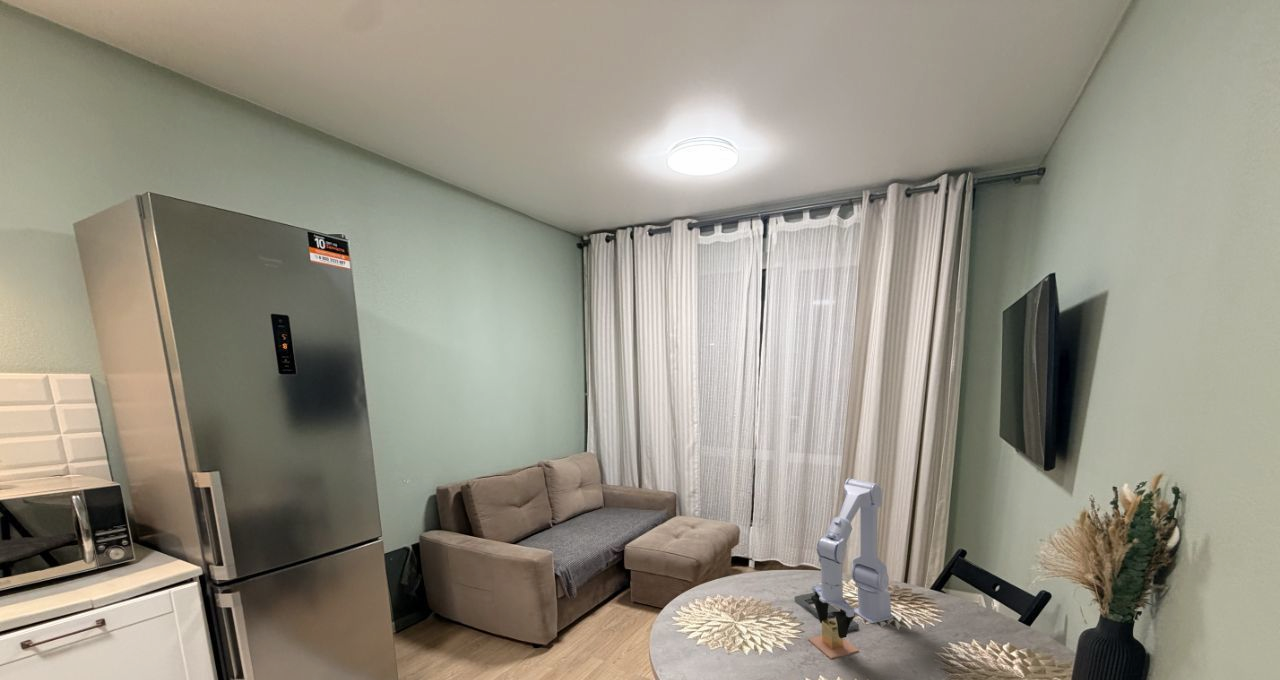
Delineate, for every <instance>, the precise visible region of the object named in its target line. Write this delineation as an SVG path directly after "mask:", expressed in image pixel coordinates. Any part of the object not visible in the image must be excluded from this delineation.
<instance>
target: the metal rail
mask: <svg viewBox="0 0 1280 680" xmlns="http://www.w3.org/2000/svg"><path fill="white" fill-rule="evenodd" d="M814 595H815V593H813V592H811V593H810V592H809V593H805V594H800V595H796V596H794V601H795V603H796V604H797V605H800V607H802V608H804V609H805V610H806V611H807V612H809V613H810V614H811V615H812V616H814V618H815V619H818V620H819V617H818V613H817V610H816V607H815V606H812V605H811V604H814V602H813V601H812V599H811V596H814ZM834 612H840V609H838V608H837V607H835V606H833V605H831V604H829V605H828V618H827V619H830V618H834V617H835V615H834ZM859 628H860V627H859V623H858V622H856V621H855V620H854V619H853V620H852V621H851V623H850V626H849V628H848V632H853V631H857V630H860V629H859ZM848 632H847V633H848Z"/></svg>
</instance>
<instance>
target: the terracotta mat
mask: <svg viewBox="0 0 1280 680" xmlns="http://www.w3.org/2000/svg"><path fill="white" fill-rule="evenodd" d="M808 641H809V642H810V643H811V644H812V646H815V648H817V649H818V650H819V651H820V652H822V653H823V655H825V656H826V657H827V658H828V659H830V660H833V659H836V658H841V657H845V656H848V655H852V654H856V653H859V652H860V650H859V649H858V648H857V647H855V646H854V645H853V644H852V643H850V642H849V641H848V640H846V639H845V638H843V646H844V647H842V648H838V649H834V650H832V649H830V648H829V647H828V646H827V645H826V644H824V643H823V642H822V635H819V636H814V637H809V638H808Z"/></svg>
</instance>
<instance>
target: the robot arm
mask: <svg viewBox="0 0 1280 680" xmlns="http://www.w3.org/2000/svg"><path fill="white" fill-rule="evenodd" d="M843 493H844V494H843V495H844V500H843V503H842V506H841V509H840V511H839V512H840V513H839V515H838V516H837V517H834V518H832V520H831V523H830V525H829V527H828V528H827V530H826V533H825V535H824V536H822V537H820V538H819V539H818V541H817V543H816V553H817V556H818V563H820V576H821V577H820V581H821V582H820V583H821V585H819V584H814V585H811V587H812V590H811V593H815V595H814V596H811V599H812V601H813V602H814V603H813V604H814V608H816V610H817V613H818V617H819V619H818V621H819V623H820V624H822V620H826V619H827V618H828V605H829V604H830V605H832V606H833V607H835V608H836V609H838V610H839V611H840V612H834V615H835V616H834V619H835V620H836V621H837V626H838V635H839V637H840V638H843V639H845V638H847V635H848V628H849V626H850V623H851V621H852V620H853V621H854V618H855V616H856V615H858V616H859V617H861V618H862V619H864V620H865V621H867V622H868V623H869V624H876V623H880V622H884V621H889V620H893V619H894V616H892V603H891V595H890V592H889V590H888V586H889V581H890V580H889V574H888V568H887V565H886V564H885V562H883V561H882V560H881V559H880V558H879V557H878V508H882V504H883V490H882V488H881V485H880V484H879V483H877V482H871V481H865V480H859V479H854V478H851V477H848V478H847V479H846V480H845V482H844V484H843ZM859 510H860V516H859V517H860V518H859V519H860V527H859V529H860V530H859V531H860V534H859V535H860V539H859V541H860V550H859V551H860V554H859V555H857V556H855V557H854V558H853V559H852V566H851V572H850V575H851V578H852V580H853V582H855V585H856V586H857V604H858V607H856V608H853V607H852V606H851V605H850V604H849V602H847V600H846V599H845V598H844V595H843V594H844V592H843V587H844V586H843V562H844V560H845V558H846V554H847V548H848V546H847V542H848V540H849V538H850V537H851V533H852V531H853V526H852V524H851V523H852V521H853V520H854V518H855V516H856V515H857V513H858V511H859ZM828 619H829V618H828Z"/></svg>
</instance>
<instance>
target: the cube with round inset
mask: <svg viewBox="0 0 1280 680" xmlns="http://www.w3.org/2000/svg"><path fill="white" fill-rule="evenodd" d="M821 636H822V642H823V643H824V644H826V645H827V646H828V647H829V648H830V649H832V650H834V649H838V648H842V647H844V646H843V639H844V638H840V637H839V635H838V626H837V621H836V618H834V617H830V618H828V619H826V620H822V623H821Z"/></svg>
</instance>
